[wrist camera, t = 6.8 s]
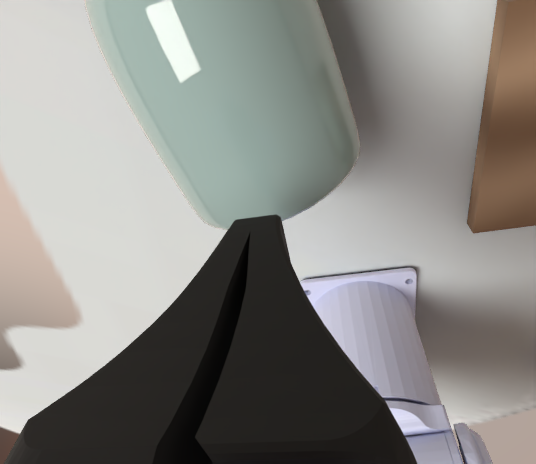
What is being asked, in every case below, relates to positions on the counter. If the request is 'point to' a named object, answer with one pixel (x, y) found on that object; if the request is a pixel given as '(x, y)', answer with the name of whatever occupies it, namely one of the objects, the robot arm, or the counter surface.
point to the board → (507, 125)
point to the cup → (234, 99)
